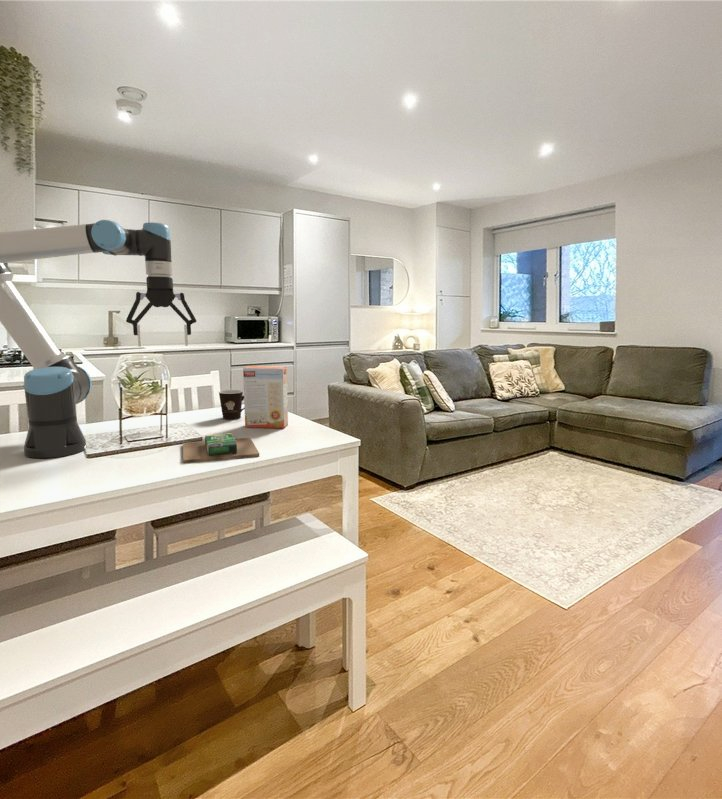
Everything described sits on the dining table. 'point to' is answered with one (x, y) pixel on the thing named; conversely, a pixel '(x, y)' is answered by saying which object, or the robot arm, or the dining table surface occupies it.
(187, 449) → the walnut board
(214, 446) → the coffee box
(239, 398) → the coffee mug
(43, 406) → the robot arm
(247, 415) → the cracker box
